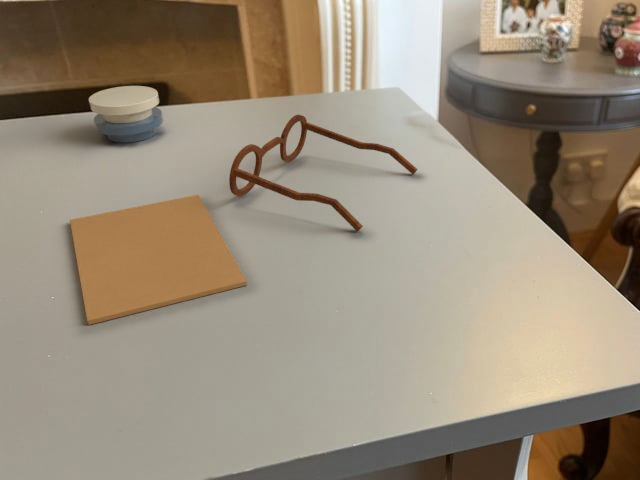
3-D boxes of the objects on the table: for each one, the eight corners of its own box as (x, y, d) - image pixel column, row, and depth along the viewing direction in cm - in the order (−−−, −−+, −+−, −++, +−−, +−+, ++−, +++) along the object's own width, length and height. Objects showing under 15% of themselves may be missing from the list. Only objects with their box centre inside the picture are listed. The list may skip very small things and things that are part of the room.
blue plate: (84, 143, 71) (79, 123, 70) (122, 120, 77) (118, 102, 76) (143, 149, 70) (139, 129, 69) (177, 125, 76) (173, 107, 74)
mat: (70, 223, 56) (69, 219, 56) (199, 198, 60) (198, 194, 60) (88, 325, 44) (86, 320, 44) (247, 285, 48) (246, 280, 48)
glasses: (302, 154, 68) (298, 107, 66) (417, 174, 64) (419, 125, 61) (229, 206, 59) (221, 154, 56) (360, 234, 54) (358, 179, 51)
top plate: (79, 123, 70) (73, 103, 69) (118, 102, 76) (113, 83, 75) (139, 129, 69) (134, 108, 67) (173, 107, 74) (170, 88, 73)
